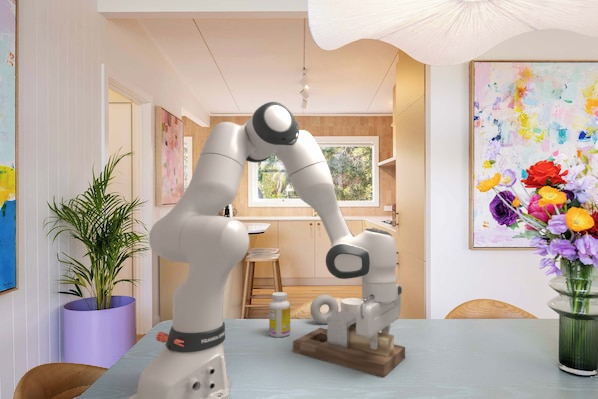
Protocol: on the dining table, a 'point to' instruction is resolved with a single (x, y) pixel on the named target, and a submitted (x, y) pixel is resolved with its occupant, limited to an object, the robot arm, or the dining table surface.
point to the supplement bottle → (279, 315)
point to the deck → (347, 354)
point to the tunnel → (340, 329)
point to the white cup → (350, 304)
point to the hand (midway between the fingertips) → (379, 344)
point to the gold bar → (364, 343)
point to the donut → (317, 305)
